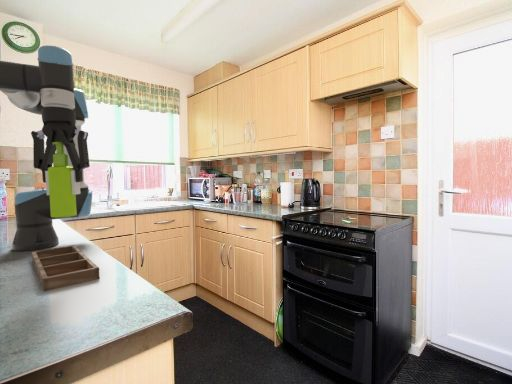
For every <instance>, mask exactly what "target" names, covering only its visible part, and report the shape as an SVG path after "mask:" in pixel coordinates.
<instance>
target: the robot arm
mask: <svg viewBox="0 0 512 384" xmlns="http://www.w3.org/2000/svg"><path fill="white" fill-rule="evenodd" d="M37 62H38V64H37V65H35V64H34V65H33V64H27V63H19V62H12V61H4V60H0V92H1V93H2V94H3V95H5V96H7V99H8V101H9V102H10V103H11V104H12V105H14V106H15V107H17V108H18V109H21V110H23V111H26V112H29V113H32V114H35V115H39V116H40V115H41V121H42V123H43V126H42V128H41V130H40V129H39V130H37V131H35V130H32V131H31V132H30V134H31V138H32V140H33V142H32V143H33V145H32V146H33V147H32V148H33V151H32V152H33V153H32V154H33V168H34V169H38V170H40V171H41V173H42V182H43V183H44V184H45V188H40V189H39V188H38V189H33V190H27V191H26V190H25V191H20V192H18V193H16V194H15V196H14V205H13V206H14V208H15V209H14V210H15V212H14V213H15V223H16V232H15V235H14V237H13V241H12V244H11V246H12V247H11V248H12V250H13V251H17V252H22V251H23V252H25V251H34V250H36V251H38V250H44V249H48V248H51V247H55V246H57V245H58V244H60V243H59V237H58V235H57V232H56V231H55V227H54V225H53V220H62V219H72V218H73V219H74V218H77V219H79V218H86V217H88V216H90V214H91V210H92V203H93V190H91V189H89V185H87V184H86V183H85V178H84V177H85V176H84V169H87V168H90V166H91V165H90V157H89V149H88V142H87V140H88V138H89V137H88V136H89V133H88V131H85V130H82V126H83V125H84V124H85V123H86V122H85V121H86V119H89V112H88V107H87V106H88V105H87V102H86V97H85V93H84V91H83V90H82V89H78V88H75V81H74V68H73V66H74V63H73V57H72V54H71V52H69V50H67V49H65V48H63V47H59V46H56V45H41V46H40V47H38V49H37ZM45 138H46V139H45ZM52 142H62V143H63V144H64V153H65V154H67V155H68V167H73V168H72V169H73V170H71V184H72V195H76V210H77V215H75V216H69V217H51V210H50V195H49V179H48V168H49V167H53V154H55V153H56V145H52ZM75 144H76V146H75Z"/></svg>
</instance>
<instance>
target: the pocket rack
mask: <svg viewBox="0 0 512 384" xmlns="http://www.w3.org/2000/svg"><path fill="white" fill-rule="evenodd" d="M31 261H32V263H33V265H34V269H35V272H36V274H37V276H38V279H39V281H40V284H41V287H42V290H43V292H46V291H51V290H55V289H59V288H63V287H68V285H69V286H72V284H73V285H77V284H81V282H82V283H86V282H89V281H94V280H99V279H101V278H100V267H99V266H98V265H97V264H95V262H93V261H92V260H91V259H90V258H89V257H88V256H87V255H86V254H85V253H84V252H82V251H81V249H79V248H78V247H77V246H76V245H75V244H74V245H68V246H62V247H54V248H49V249H48V248H46V249H40V250H36V251H34V250H33V251H31ZM76 283H77V284H76Z"/></svg>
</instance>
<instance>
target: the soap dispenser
mask: <svg viewBox="0 0 512 384" xmlns="http://www.w3.org/2000/svg"><path fill="white" fill-rule="evenodd" d="M52 145H56V152H55V154H53V164H52V167H49V168H48V179H49V195H50V210H51V217H69V216H75V215H77V210H76V195H72V184H71V170H73V169H72V168H73V167H68V155H67V154H65V153H64V144H63V143H62V142H52ZM75 146H76V144H75Z"/></svg>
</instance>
